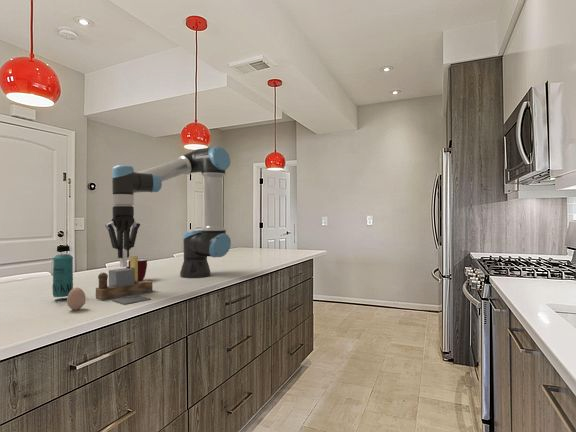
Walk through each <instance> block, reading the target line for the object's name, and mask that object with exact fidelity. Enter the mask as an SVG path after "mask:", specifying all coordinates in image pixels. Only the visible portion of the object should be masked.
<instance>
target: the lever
mask: <svg viewBox="0 0 576 432" xmlns="http://www.w3.org/2000/svg"><path fill="white" fill-rule="evenodd" d="M129 257H130V259H129V260H130V269H134V283H136V284H137V283H138V259H139V258H138V256H136V255H129Z"/></svg>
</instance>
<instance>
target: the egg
mask: <svg viewBox="0 0 576 432" xmlns="http://www.w3.org/2000/svg"><path fill="white" fill-rule="evenodd" d="M66 297H67V298H66V304H67V306H68V307H69V309H71V310H72V311H78V310H80V309H82V308H83V307H84V305H85V303H86V299H87V298H86V294H85V292H84V291H83V289H82V288H80V287H73V289H72V290H71V291H70V292H69V294H68V296H66Z"/></svg>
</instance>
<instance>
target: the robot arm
mask: <svg viewBox="0 0 576 432" xmlns="http://www.w3.org/2000/svg"><path fill="white" fill-rule="evenodd" d="M230 166H231V156H230V154H229V152H228V151H227V150H226V148H224V147H222V146H217V145H216V146H210V147H204V148H198V149H195V150H193V151H190V152H188V153H185V154H183V155H180V156H179V157H177V159H174V160H171V161H167V162H165V163H162V164H159V165H156V166H153V167H150V168H149V167H148V168H146V169H143V170H140V171H137V172H135V170H134V166H130V165H115V166H113V167H112V174H111V179H112V180H111V181H112V186H111V187H112V188H111V189H112V194H111V195H112V205H113V207H112V218H111V221H110V222H108V223H106V224H105V228H106V229H107V231H108V235H109V238H110V243H111V247H112V249H115V250H117V259H119V267H121V268H126V267H128V258H129V257H130V250H131V249H132V248H134V247H135V244H136V239H137V234H138V231H139V229H140V227H141V223H140V222H136V221H135V218H134V216H135V210H134V209H135V208H134V206H133V205H135V202H134V200H135V199H134V198H135V197H134V196H135V195H134V193H135V194H136V193H157V192H159V191H160V190H161V189H162V185H163V184H162V183H163V182H164V181H168V180H170V179H172V178H176V177H178V176H181V175H190V174H194V173H201V176H203V177H204V227H203V228H202V229H198V230H189V231H185V232H184V234H183V263H182V266H181V269H180V271H179V276H180V277H181V278H187V279H192V278H194V279H195V278H204V277H209V276H211V269H210V265H209V263H208V257H210V258H222V257H224V256H226V254H228V252H229V251H230V249H231V244H232V242H231V237H230V236H229V234H227V230H226V228H225V227H224V226H223V225H224V224H223V219H224V217H223V213H224V212H223V210H224V209H223V206H224V205H223V204H224V203H223V178H224V177H225V176H226V170H228V169H229V167H230ZM131 227H132V228H131ZM114 228H116V231H115V229H114Z"/></svg>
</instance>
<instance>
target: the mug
mask: <svg viewBox="0 0 576 432" xmlns="http://www.w3.org/2000/svg"><path fill="white" fill-rule="evenodd" d="M147 267H148V260H147V259H146V258H138V282H139V281H144V279H145V276H146V274H147V273H146V272H147ZM125 268H129V269H130V259H129V260H128V265H127V267H125Z"/></svg>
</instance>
